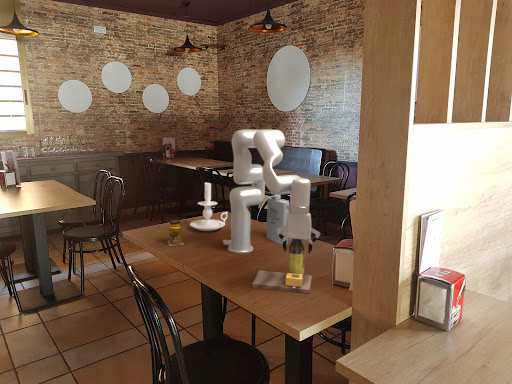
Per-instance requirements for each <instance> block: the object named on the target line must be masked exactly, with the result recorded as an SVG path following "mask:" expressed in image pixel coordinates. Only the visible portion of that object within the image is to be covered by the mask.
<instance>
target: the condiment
mask: <svg viewBox="0 0 512 384" xmlns="http://www.w3.org/2000/svg"><path fill="white" fill-rule="evenodd" d="M168 229H169V231H168V232H169V233H168V234H169V239H168V240H167V241H166V242H167V243H168V245H169V246H170V247H171V246H172V247H173V246H182V245H184V242H183V241H182V225H181V221H180V220H178V219H173V220H170V221H169V228H168Z"/></svg>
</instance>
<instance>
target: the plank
mask: <svg viewBox="0 0 512 384" xmlns="http://www.w3.org/2000/svg"><path fill="white" fill-rule="evenodd" d="M287 273H288V272H280V271H279V272H278V271H269V270H258V272H257V275H256V276H255V278H254V280H253V281H252V285H251V286H252V288H254V289H256V288H257V289H265V290H273V291H280V292H281V291H283V292H292V293H299V294H300V293H301V294H310V291H311V285H312V279H313V277H312V276H313V275H310V274H303V278H302V285H301V287H298V286H289V285H286V276H287Z"/></svg>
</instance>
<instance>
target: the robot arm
mask: <svg viewBox="0 0 512 384" xmlns="http://www.w3.org/2000/svg"><path fill="white" fill-rule="evenodd" d="M285 143H286V137H285V135H284V133H283V132H282V131H281V130H280V129H240V130H239V129H238V130H236V131H235V132H234V133H233V135H232V138H231V146H232V153H233V181H234V183H236V185H248V186H238V187H235V188H232V189H231V191H230V192H229V203H230V215H231V218H230V220H231V222H230V225H231V226H230V227H231V228H230V230H231V231H230V232H231V233H230V239H228V240H227V239H222V243H223V245H225V246H227V251H229V252H230V253H235V254H249V253H251V252H252V251H253V250H254V247H253V245H251V226H252V223H251V222H252V220H251V218H252V217H251V216H252V215H251V212H250V211H249V209H248V207H249V206H250V207H251V206H259V205H260V204H263V202H264V200H265V195H266V194H265V191H266V187H267V189H268V191H269V192H270V193H271V194H272V195H281V196H282V195H287V194H288V195H289V196H290V197H289V199H290V200H289V206H286V209H288V210H289V212H288V213H287V218H286V225H285V226H283V227H281V228H278V229H277V230H276V231H277V233H278V235H279V237H280V238H281V240H282V241H283V245H282V249H283V251H284V252H286V251H287V247H288V244H287V240H286V239H287V238H288V239H291V240H292V239H302V240H303V241H306V240H307V241H308V248H307V249H308V250H307V253H308V254H309V255H310V253H311V252H312V251H313V245H314V243H315V242H316V241H318V239H319V238H320V235H321V232H320V231H319V230H316V229H314V228H313V227H312V215H311V213H310V202H311V201H310V198H311V180H310V179H309V178H304V177H301V176H299V175H296V174H289V175H288V174H286V175H277V174H276V172H274V170H273V167H276V166H277V165H279V164H280V162H282V160H283V158H284V154H283V151H282V150H281V148H283V147H284V146H285V145H286V144H285ZM249 149H257V151H258V153H259V154H260V155H259V156H260V157H261V158H262V161H263V162H264V163H263V165H261V164H260V163H259V164H257V163H252V153H251V152H250V150H249ZM283 230H285V236H283V235H282V234H281V231H283ZM312 233H313V234H315V236H313V238H312Z"/></svg>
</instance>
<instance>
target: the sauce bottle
mask: <svg viewBox="0 0 512 384" xmlns="http://www.w3.org/2000/svg"><path fill="white" fill-rule="evenodd" d="M287 271H288V272H287V273H293V274H303V275H305V274H304V273H305V245H304V244H303V242H302V239H291V242H290V244H289V247H288V270H287ZM302 278H303V277H302Z"/></svg>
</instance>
